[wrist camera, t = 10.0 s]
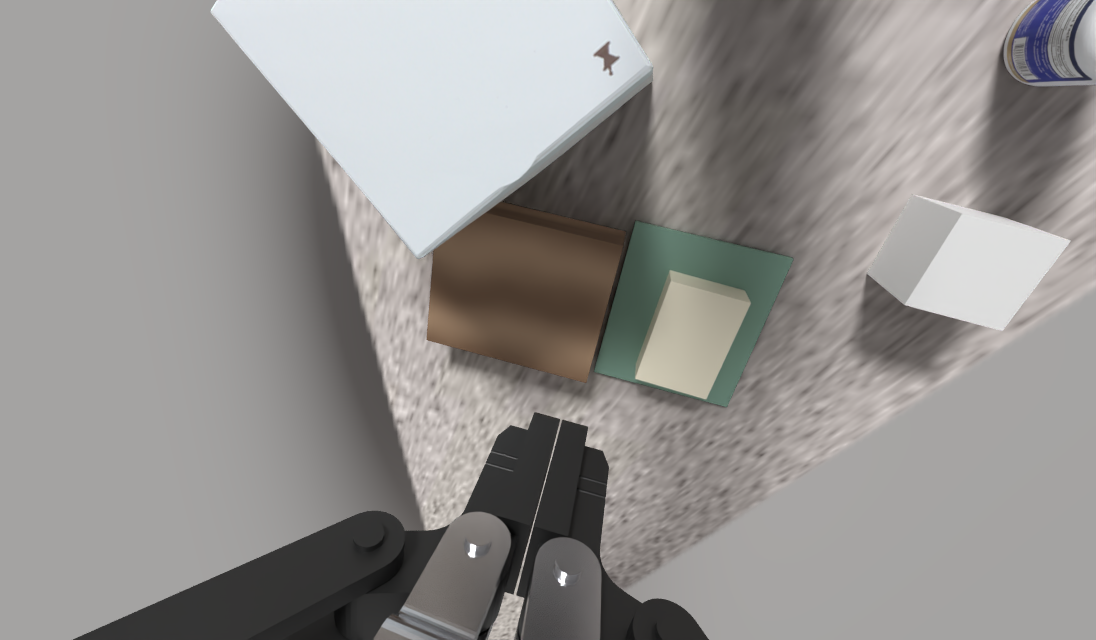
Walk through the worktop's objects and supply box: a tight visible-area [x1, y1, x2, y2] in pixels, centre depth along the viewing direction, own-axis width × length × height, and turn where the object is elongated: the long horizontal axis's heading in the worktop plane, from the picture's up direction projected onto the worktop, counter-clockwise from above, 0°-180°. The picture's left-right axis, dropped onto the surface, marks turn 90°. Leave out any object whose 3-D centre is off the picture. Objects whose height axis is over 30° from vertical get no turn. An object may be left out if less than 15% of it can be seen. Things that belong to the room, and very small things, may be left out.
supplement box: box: [211, 0, 653, 259], centre depth 26 cm, size 13×13×18 cm
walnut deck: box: [427, 202, 626, 383], centre depth 39 cm, size 12×14×4 cm
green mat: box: [594, 221, 794, 407], centre depth 39 cm, size 14×12×1 cm
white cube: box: [867, 194, 1070, 331], centre depth 31 cm, size 6×6×6 cm
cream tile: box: [635, 270, 751, 399], centre depth 38 cm, size 9×6×2 cm, turn 167°
